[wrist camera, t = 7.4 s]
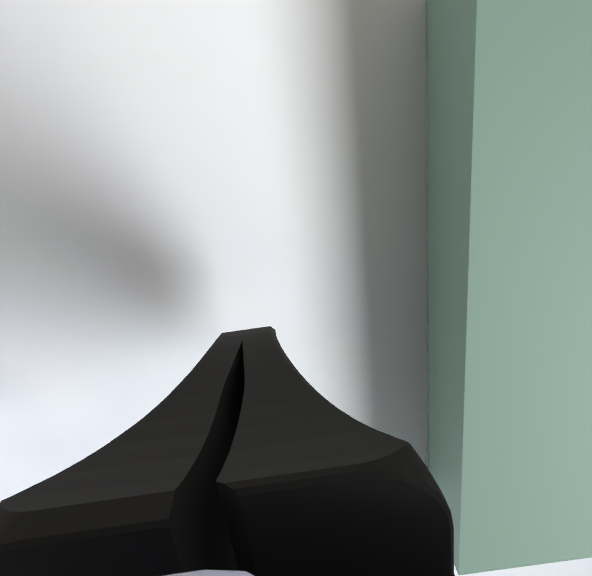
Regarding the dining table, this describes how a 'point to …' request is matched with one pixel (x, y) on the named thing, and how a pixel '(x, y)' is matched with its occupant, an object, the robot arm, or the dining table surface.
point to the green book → (510, 277)
